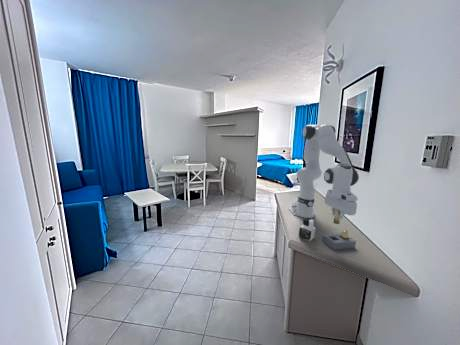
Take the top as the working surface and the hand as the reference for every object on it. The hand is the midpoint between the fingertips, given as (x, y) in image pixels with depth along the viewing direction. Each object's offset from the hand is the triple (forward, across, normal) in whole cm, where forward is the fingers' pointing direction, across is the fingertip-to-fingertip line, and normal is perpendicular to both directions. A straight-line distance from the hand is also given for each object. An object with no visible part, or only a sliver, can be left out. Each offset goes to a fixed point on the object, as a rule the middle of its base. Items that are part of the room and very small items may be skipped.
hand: (337, 216), depth 115 cm
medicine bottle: (+17, -10, -11) cm, 23 cm away
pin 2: (+17, 0, +7) cm, 19 cm away
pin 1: (+4, 0, 0) cm, 4 cm away
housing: (+17, 0, +4) cm, 18 cm away
